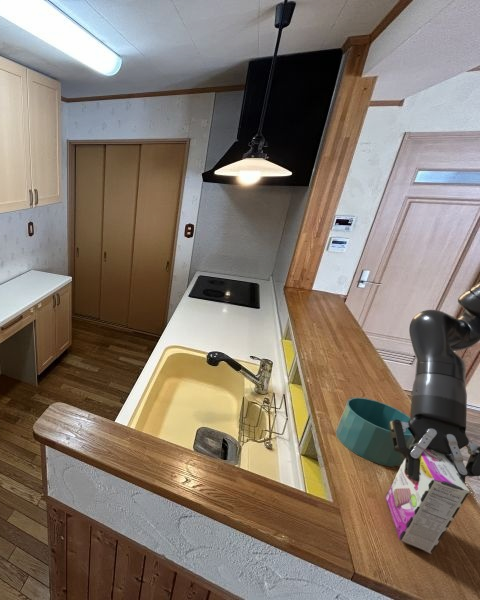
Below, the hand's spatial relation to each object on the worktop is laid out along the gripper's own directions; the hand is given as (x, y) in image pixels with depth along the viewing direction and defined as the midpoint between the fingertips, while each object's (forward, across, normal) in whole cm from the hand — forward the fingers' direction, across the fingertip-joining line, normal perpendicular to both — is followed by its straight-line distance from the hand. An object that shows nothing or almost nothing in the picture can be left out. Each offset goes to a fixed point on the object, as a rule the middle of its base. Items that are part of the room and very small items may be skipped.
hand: (433, 486), depth 60 cm
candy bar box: (+7, 0, +10) cm, 12 cm away
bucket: (-10, -2, +29) cm, 31 cm away
